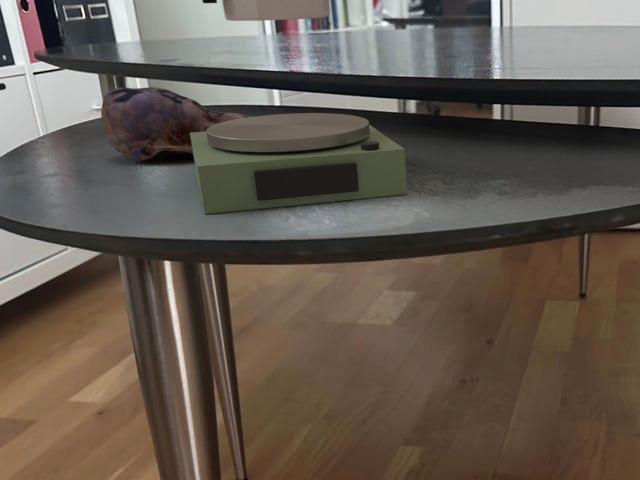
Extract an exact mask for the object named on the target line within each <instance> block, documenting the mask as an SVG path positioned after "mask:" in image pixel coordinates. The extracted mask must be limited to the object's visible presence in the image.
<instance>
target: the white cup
mask: <svg viewBox="0 0 640 480" xmlns="http://www.w3.org/2000/svg"><path fill="white" fill-rule="evenodd" d="M221 4H222V9H223V15H224V18H225V20H226V21H233V22H234V21H235V22H259V21H261V22H262V21H289V20H291V21H292V20H308V19H309V20H310V19H321V18H322V19H323V18H327V17H329V16H330V0H221Z"/></svg>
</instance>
